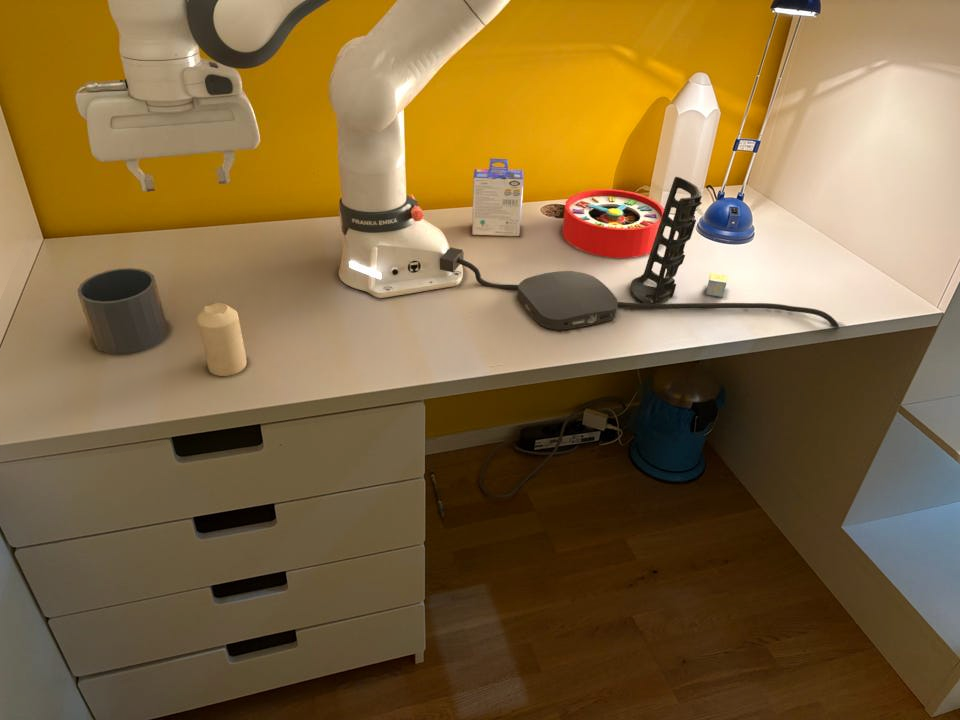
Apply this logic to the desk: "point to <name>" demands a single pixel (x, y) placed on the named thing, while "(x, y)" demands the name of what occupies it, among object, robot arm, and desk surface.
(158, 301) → the pen holder
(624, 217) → the toy clock
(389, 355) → the desk surface
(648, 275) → the holder
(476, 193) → the ink cartridge box
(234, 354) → the candle
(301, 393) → the desk surface
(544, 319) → the media streaming box
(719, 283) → the alphabet block
